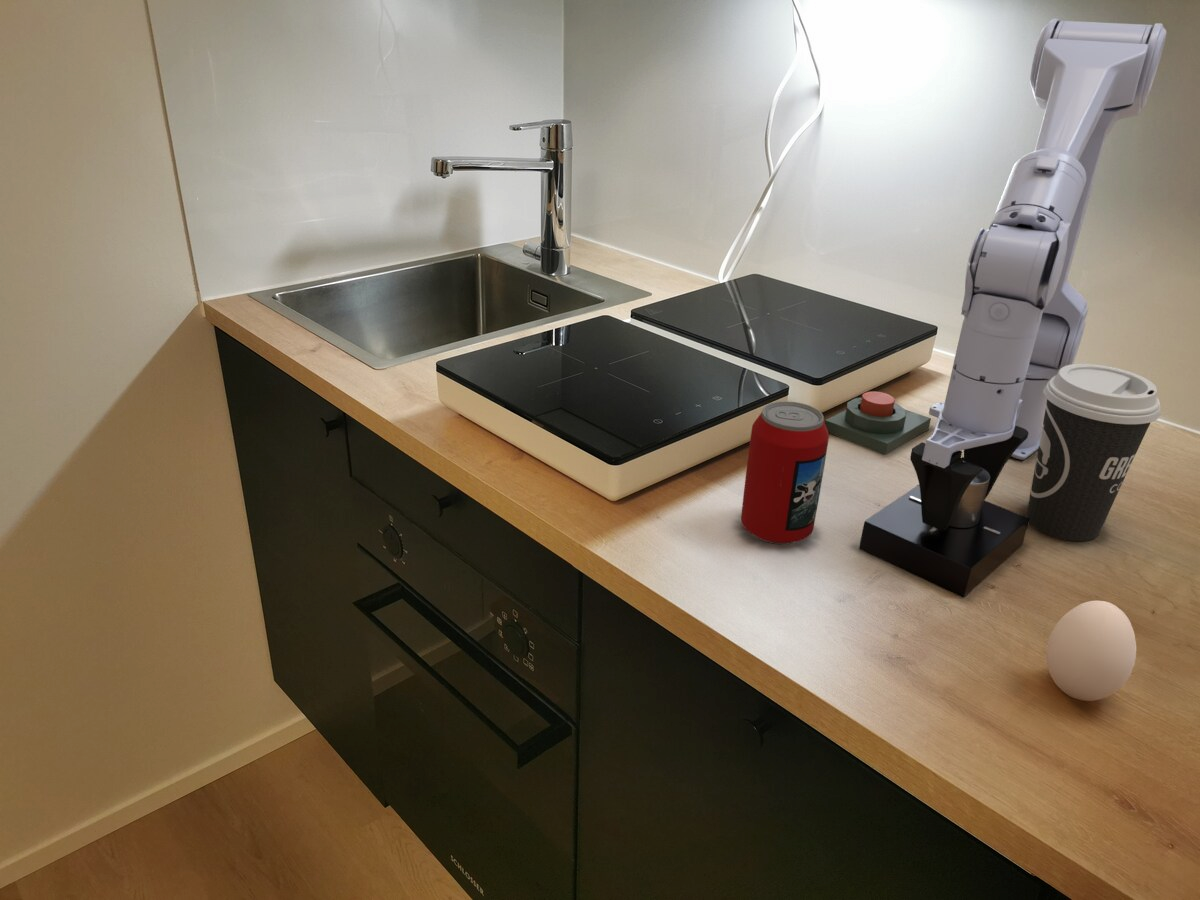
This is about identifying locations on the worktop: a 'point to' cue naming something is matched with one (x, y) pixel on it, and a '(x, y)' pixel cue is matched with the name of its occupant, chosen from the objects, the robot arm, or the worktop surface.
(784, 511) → the beverage can
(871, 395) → the button
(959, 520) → the knob
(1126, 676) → the egg
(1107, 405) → the coffee cup
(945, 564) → the panel
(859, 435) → the button block
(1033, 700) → the worktop surface
